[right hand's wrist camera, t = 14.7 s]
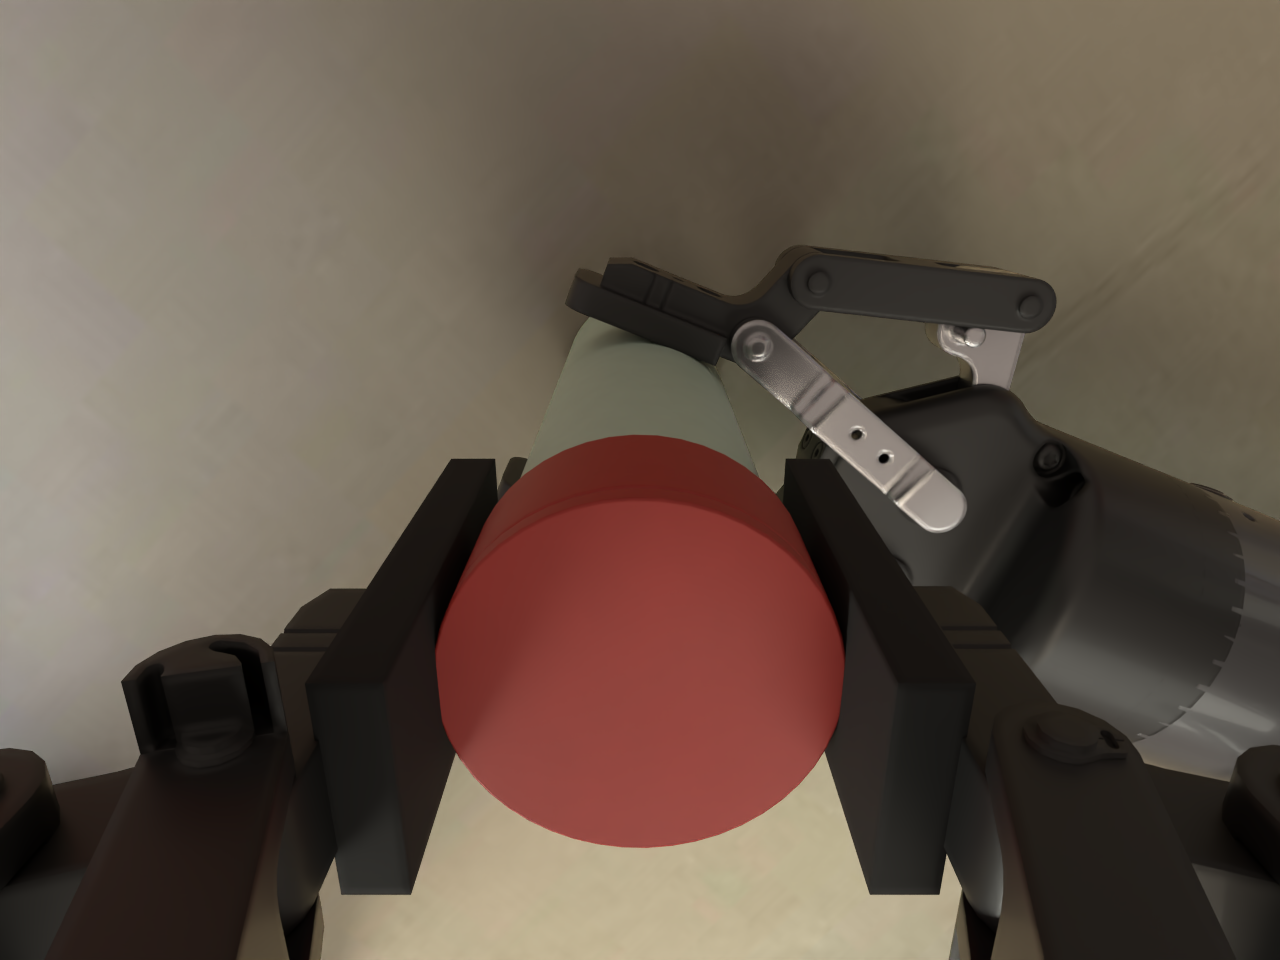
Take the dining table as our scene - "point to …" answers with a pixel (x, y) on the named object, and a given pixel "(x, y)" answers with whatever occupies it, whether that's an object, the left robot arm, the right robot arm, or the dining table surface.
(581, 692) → the lid
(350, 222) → the dining table surface
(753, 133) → the dining table surface
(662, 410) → the bottle
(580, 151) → the dining table surface
